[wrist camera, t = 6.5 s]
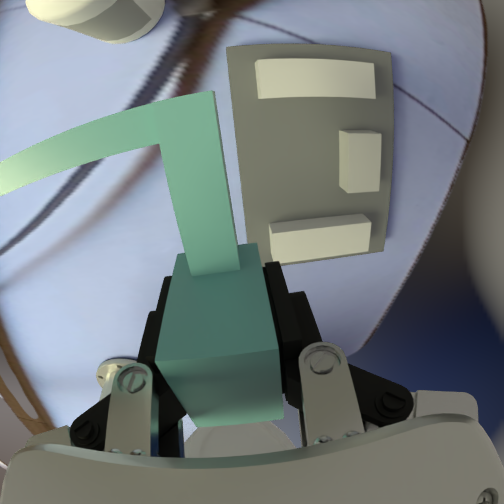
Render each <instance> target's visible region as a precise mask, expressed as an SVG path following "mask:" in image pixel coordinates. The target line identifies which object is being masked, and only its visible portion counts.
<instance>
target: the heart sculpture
mask: <svg viewBox="0 0 504 504" xmlns="http://www.w3.org/2000/svg"><path fill="white" fill-rule="evenodd" d="M290 449H296V447H295V446H294V445H293V443H292V442H291V441H290V439H289V438H288V437H287V436H286V434H285V433H284V432H282V431H281V430H280V429H279V428H278V427H276V426H275V425H274V424H273V423H271V422H270V421H264V422H256V423H247V424H238V425H226V426H211V427H198V428H197V429H196V430H195V431H194V432H193V433H192V435H191V436H190V437H189V438H188V439H187V440H186V442H185V443H184V452H185V458H210V457H230V456H243V455H253V454H262V453H270V452H277V451H284V450H290Z"/></svg>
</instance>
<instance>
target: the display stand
mask: <svg viewBox="0 0 504 504" xmlns="http://www.w3.org/2000/svg"><path fill="white" fill-rule="evenodd" d="M226 53H227V63H228V72H229V81H230V90H231V99H232V109H233V118H234V127H235V136H236V145H237V154H238V163H239V172H240V181H241V189H242V198H243V207H244V216H245V225H246V234H247V242H248V244H249V243H256V242H257V245H258V250H259V255H260V260H261V264H262V267H265V263H267V262H273V261H279V262H280V266H283V265H291V264H298V263H305V262H313V261H320V260H327V259H334V258H341V257H348V256H355V255H362V254H369V253H375V252H382V251H383V250H384V244H385V237H386V229H387V222H388V213H389V204H390V193H391V181H392V166H393V142H394V99H393V76H392V62H391V53H390V52H384V51H378V50H371V49H364V48H356V47H347V46H336V45H321V44H257V45H242V46H231V47H226Z"/></svg>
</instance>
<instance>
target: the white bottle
mask: <svg viewBox="0 0 504 504" xmlns="http://www.w3.org/2000/svg"><path fill="white" fill-rule="evenodd" d="M26 5H27V8H28V10H29V12H30V14H32V15H33V16H34V17H36V18H37V19H39V20H41V21H45V22H48V23H52V24H55V25H58V26H61V27H65V28H68V29H71V30H74V31H77V32H79V33H82V34H85V35H88V36H91V37H93V38H96V39H99V40H101V41H104V42H107V43H111V44H123V43H127V42H130V41H134V40H137V39H138V38H140V37H141V36H143V35H145V34H146V33H148V32H149V31H150V30H151V29H152V28H153V27H154V26H155V25H156V24H157V22H158V21H159V19H160V17H161V16H162V14H163V11H164V7H165V0H26Z"/></svg>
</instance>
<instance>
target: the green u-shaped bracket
mask: <svg viewBox="0 0 504 504" xmlns="http://www.w3.org/2000/svg"><path fill="white" fill-rule="evenodd" d="M154 144H160V149H161V154H162V159H163V163H164V168H165V173H166V177H167V182H168V186H169V190H170V195H171V199H172V203H173V207H174V212H175V216H176V220H177V224H178V228H179V231H180V235H181V239H182V243H183V247H184V250H185V253H181V254H177V258H176V262H175V266H174V271H173V275H172V279H171V283H170V288H169V292H168V297H167V301H166V306H165V310H164V315H163V320H162V325H161V330H160V335H159V340H158V345H157V351H156V356H155V363H156V365H157V366H158V368H159V370H160V371H161V373H162V375H163V376H164V378H165V380H166V381H167V383H168V385H169V386H170V388H171V389H172V391H173V393H174V394H175V396H176V397H177V399H178V400H179V402H180V403H181V405H182V406H183V408H184V409H185V411H186V412H187V414H188V415H189V417H190V418H191V420H192V421H193V422H194V424H195V425H196V427H211V426H226V425H238V424H247V423H256V422H264V421H271V420H277V419H283V418H284V414H283V399H282V385H281V372H280V359H279V348H278V343H277V338H276V333H275V328H274V323H273V318H272V313H271V308H270V303H269V298H268V293H267V289H266V284H265V279H264V274H263V269H262V264H261V260H260V255H259V250H258V245H257V242H256V243H249V244H242V245H238V242H237V235H236V229H235V223H234V217H233V210H232V204H231V198H230V191H229V185H228V178H227V172H226V165H225V159H224V152H223V145H222V139H221V132H220V125H219V118H218V112H217V105H216V98H215V92H214V91H206V92H200V93H195V94H190V95H185V96H180V97H175V98H170V99H166V100H162V101H157V102H153V103H151V104H147V105H143V106H140V107H136V108H132V109H129V110H126V111H122V112H119V113H116V114H112V115H109V116H106V117H103V118H100V119H97V120H94V121H92V122H89V123H86V124H83V125H81V126H78V127H75V128H73V129H70V130H68V131H65V132H63V133H60V134H58V135H55V136H53V137H51V138H49V139H46V140H44V141H42V142H40V143H37V144H35V145H33V146H31V147H29V148H27V149H25V150H23V151H21V152H19V153H17V154H15V155H13V156H11V157H9V158H7V159H6V160H4V161H2V162H0V196H2V195H4V194H7V193H9V192H11V191H13V190H16V189H18V188H20V187H23V186H25V185H27V184H30V183H32V182H35V181H37V180H40V179H42V178H45V177H48V176H50V175H53V174H56V173H59V172H61V171H64V170H67V169H70V168H73V167H76V166H79V165H82V164H85V163H88V162H91V161H95V160H98V159H101V158H105V157H108V156H112V155H115V154H119V153H122V152H126V151H130V150H134V149H138V148H142V147H146V146H150V145H154Z"/></svg>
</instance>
